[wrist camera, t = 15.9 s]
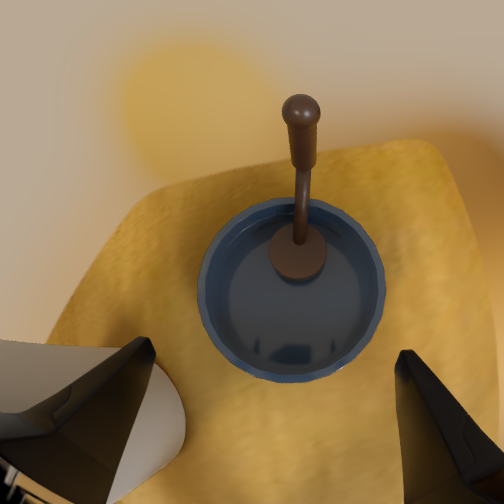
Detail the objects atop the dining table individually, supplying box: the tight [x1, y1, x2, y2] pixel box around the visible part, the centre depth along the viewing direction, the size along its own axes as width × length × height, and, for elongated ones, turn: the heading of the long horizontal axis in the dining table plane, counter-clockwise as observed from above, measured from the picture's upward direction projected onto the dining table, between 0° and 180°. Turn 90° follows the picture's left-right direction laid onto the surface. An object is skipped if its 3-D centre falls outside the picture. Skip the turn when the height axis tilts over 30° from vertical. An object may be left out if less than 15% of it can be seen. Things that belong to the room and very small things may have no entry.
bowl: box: [197, 197, 386, 383], centre depth 21 cm, size 13×13×4 cm
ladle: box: [269, 94, 327, 282], centre depth 18 cm, size 8×4×12 cm, turn 170°
